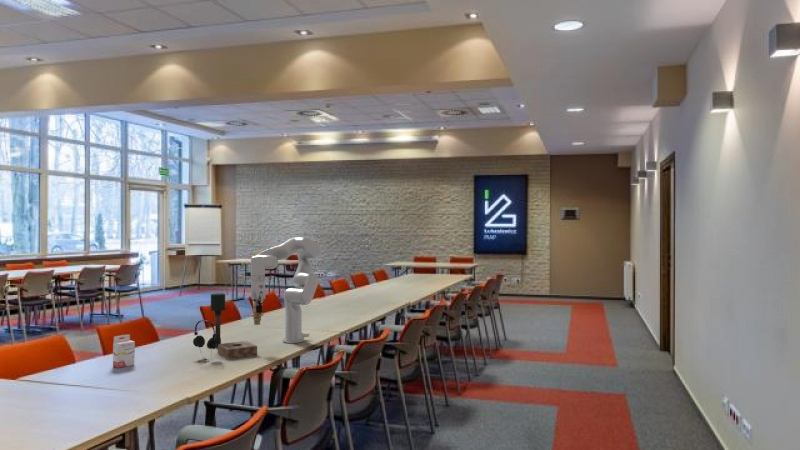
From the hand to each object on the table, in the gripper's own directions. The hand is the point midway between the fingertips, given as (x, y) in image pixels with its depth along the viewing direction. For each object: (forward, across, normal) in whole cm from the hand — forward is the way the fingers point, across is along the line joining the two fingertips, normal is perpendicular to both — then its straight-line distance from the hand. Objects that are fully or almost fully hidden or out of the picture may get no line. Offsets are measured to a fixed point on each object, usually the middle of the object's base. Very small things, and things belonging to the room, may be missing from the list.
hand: (257, 311), depth 311 cm
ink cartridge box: (+23, +7, +65) cm, 69 cm away
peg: (+7, 0, 0) cm, 7 cm away
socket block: (+22, 0, +11) cm, 24 cm away
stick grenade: (+22, +24, +14) cm, 35 cm away
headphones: (+22, -2, +30) cm, 38 cm away
